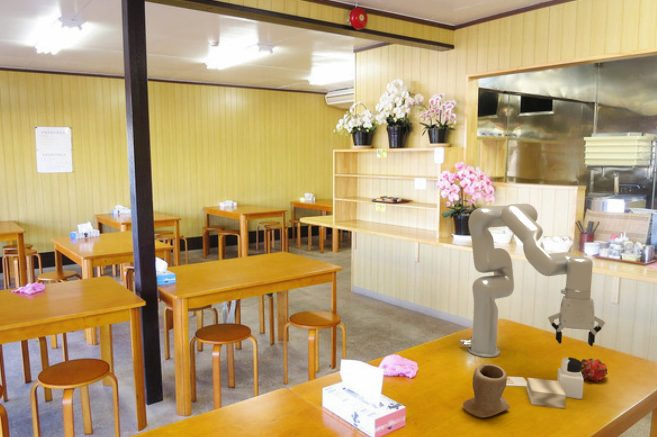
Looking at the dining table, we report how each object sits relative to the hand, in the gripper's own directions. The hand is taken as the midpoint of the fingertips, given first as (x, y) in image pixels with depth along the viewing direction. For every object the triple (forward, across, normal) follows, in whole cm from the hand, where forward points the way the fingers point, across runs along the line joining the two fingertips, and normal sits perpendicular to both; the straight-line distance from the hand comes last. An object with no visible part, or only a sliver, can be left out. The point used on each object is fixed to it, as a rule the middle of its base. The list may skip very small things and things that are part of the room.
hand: (574, 343), depth 168 cm
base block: (+18, -10, -6) cm, 21 cm away
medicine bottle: (+18, -1, +1) cm, 18 cm away
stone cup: (+18, -29, -19) cm, 39 cm away
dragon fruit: (+18, +10, +15) cm, 25 cm away
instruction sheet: (+18, -19, +5) cm, 26 cm away
